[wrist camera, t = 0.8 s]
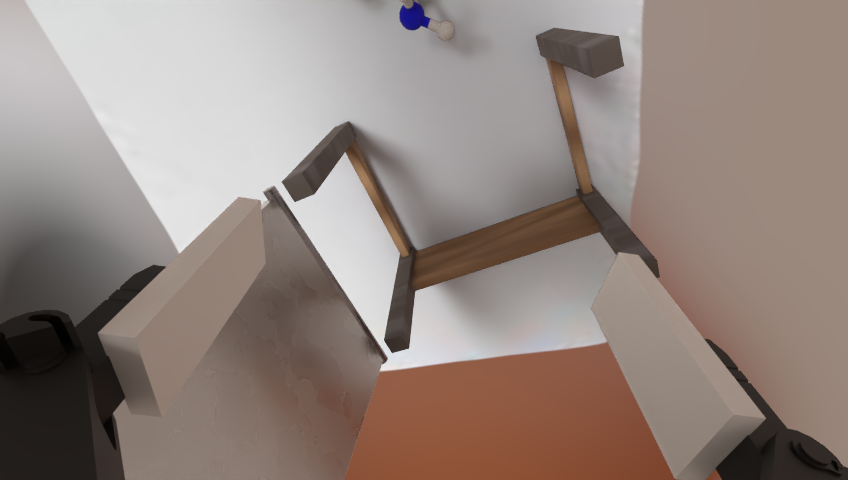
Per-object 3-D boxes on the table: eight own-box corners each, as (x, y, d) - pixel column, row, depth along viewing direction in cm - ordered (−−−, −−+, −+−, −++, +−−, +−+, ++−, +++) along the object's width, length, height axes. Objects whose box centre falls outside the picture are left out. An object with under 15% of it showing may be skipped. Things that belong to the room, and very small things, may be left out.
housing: (334, 127, 36) (282, 182, 25) (554, 27, 31) (618, 36, 20) (406, 261, 43) (392, 353, 32) (594, 197, 38) (659, 277, 27)
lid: (276, 184, 24) (267, 188, 25) (-344, 728, 7) (-353, 720, 7) (388, 355, 32) (380, 356, 32) (235, 839, 14) (219, 832, 14)
